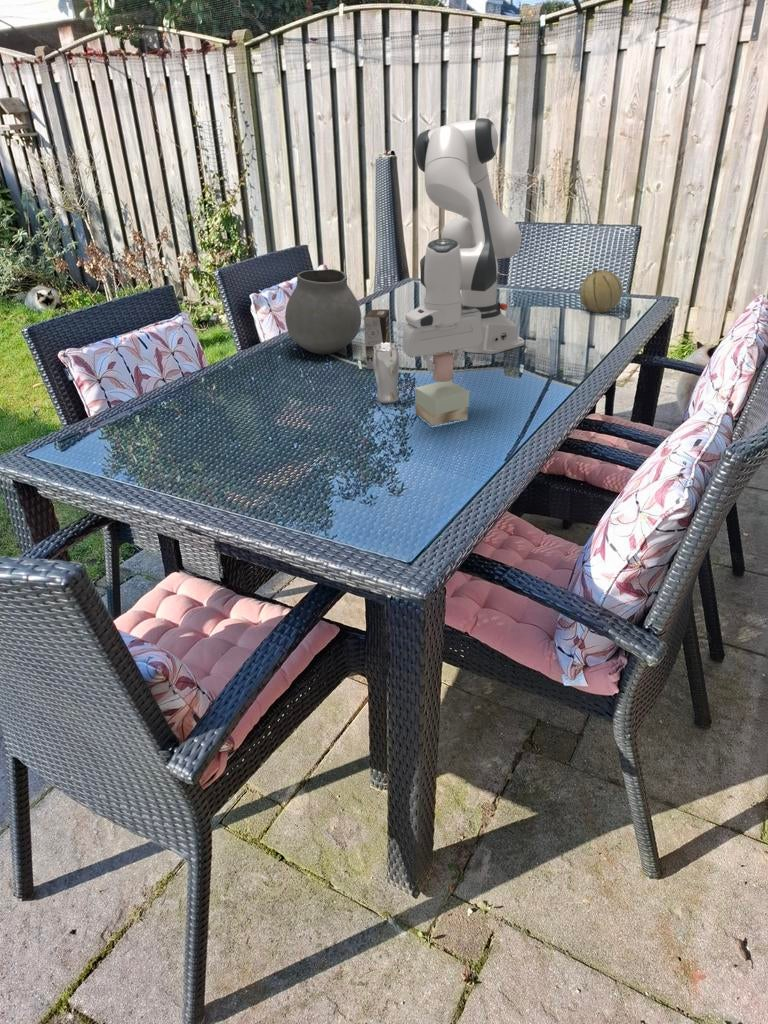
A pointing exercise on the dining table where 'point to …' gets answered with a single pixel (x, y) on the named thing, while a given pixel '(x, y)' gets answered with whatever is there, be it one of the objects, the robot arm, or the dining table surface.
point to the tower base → (441, 415)
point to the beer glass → (386, 371)
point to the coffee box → (375, 332)
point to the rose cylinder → (443, 366)
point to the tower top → (442, 397)
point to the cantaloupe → (601, 291)
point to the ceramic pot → (322, 311)
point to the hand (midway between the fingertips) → (442, 368)
